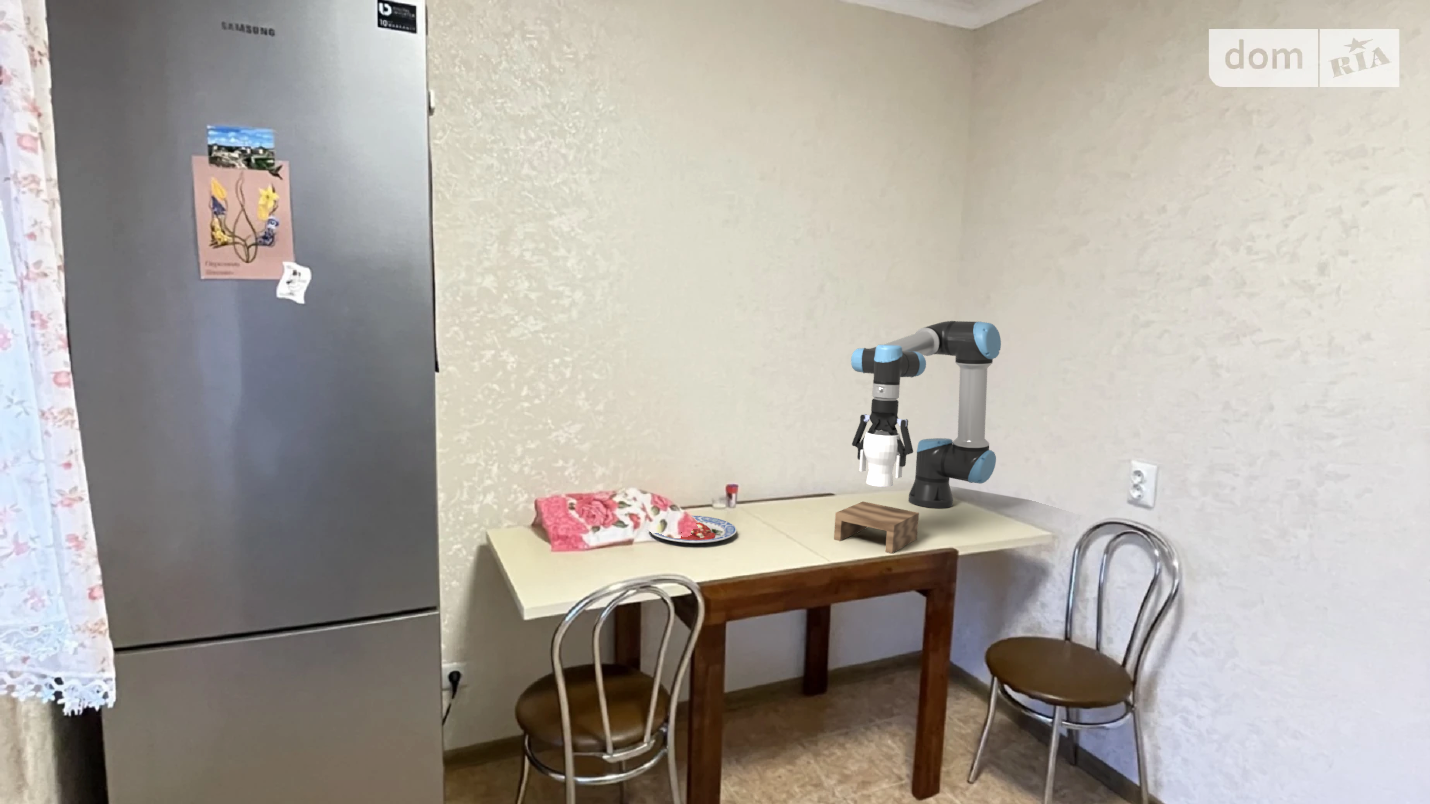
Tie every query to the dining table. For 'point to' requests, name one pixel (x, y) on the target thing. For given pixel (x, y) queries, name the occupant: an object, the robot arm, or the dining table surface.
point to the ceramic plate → (706, 531)
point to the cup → (880, 457)
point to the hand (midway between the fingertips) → (880, 474)
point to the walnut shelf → (878, 523)
